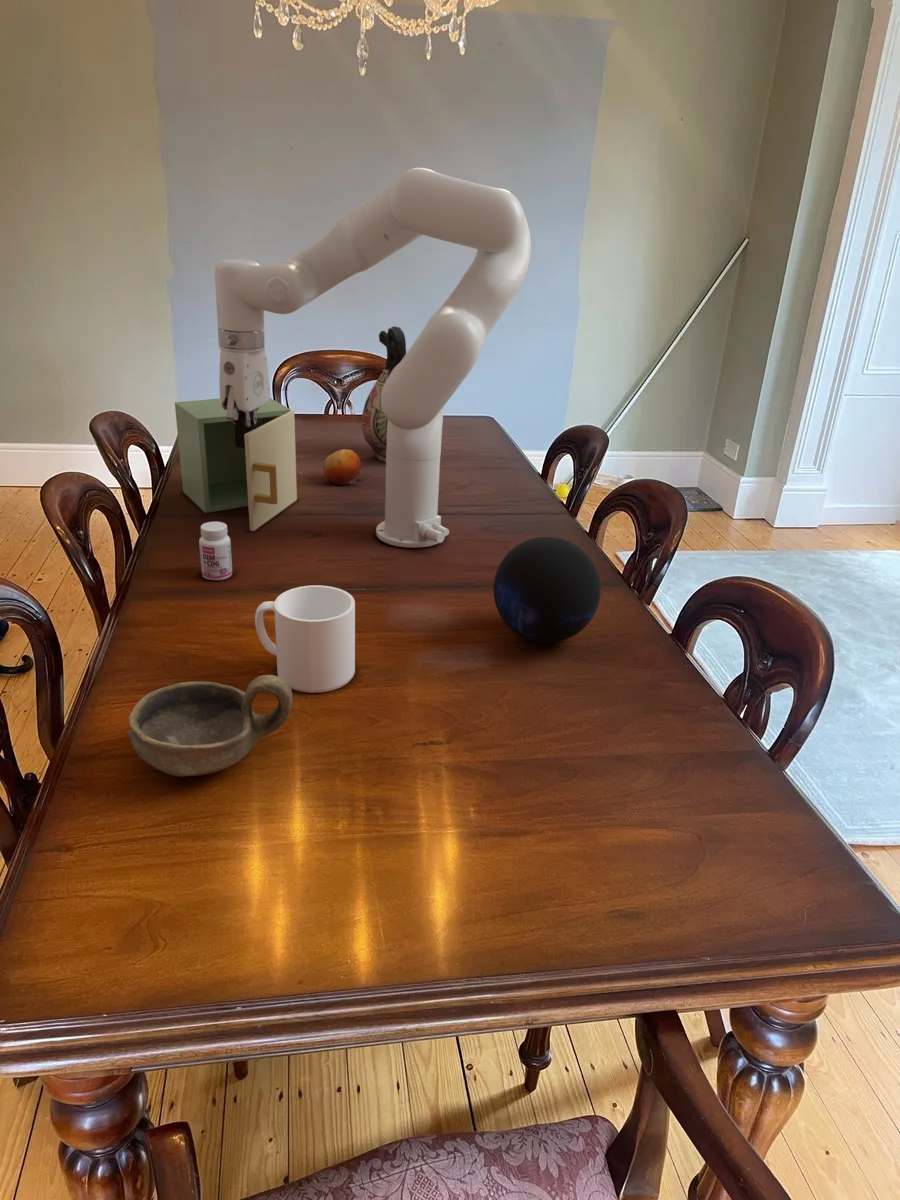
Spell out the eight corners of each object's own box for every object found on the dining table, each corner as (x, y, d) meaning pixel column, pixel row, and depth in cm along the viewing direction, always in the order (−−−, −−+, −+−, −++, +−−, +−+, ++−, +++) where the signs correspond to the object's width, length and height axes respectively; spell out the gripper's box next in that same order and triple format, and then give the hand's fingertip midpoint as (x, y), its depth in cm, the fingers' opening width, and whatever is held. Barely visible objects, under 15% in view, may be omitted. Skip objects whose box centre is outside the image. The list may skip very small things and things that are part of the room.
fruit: (367, 482, 173) (347, 449, 170) (335, 499, 175) (315, 466, 172) (371, 470, 180) (352, 438, 177) (340, 487, 182) (321, 455, 179)
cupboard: (293, 499, 166) (291, 409, 158) (205, 513, 157) (197, 418, 149) (267, 480, 176) (264, 394, 168) (183, 492, 166) (174, 402, 158)
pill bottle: (202, 582, 131) (197, 532, 127) (201, 569, 135) (197, 521, 131) (233, 580, 132) (229, 530, 128) (232, 567, 136) (228, 519, 132)
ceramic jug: (355, 449, 199) (355, 318, 185) (417, 447, 203) (422, 318, 190) (370, 471, 184) (372, 331, 171) (437, 468, 189) (444, 331, 175)
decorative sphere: (614, 640, 121) (629, 545, 114) (548, 674, 112) (560, 573, 105) (535, 602, 131) (545, 513, 124) (468, 631, 121) (475, 536, 114)
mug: (358, 654, 114) (358, 587, 109) (350, 695, 105) (350, 623, 100) (266, 650, 113) (262, 582, 109) (250, 691, 104) (245, 618, 100)
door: (316, 502, 165) (314, 414, 157) (274, 534, 149) (270, 437, 141) (293, 499, 166) (290, 410, 158) (249, 530, 150) (244, 434, 142)
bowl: (147, 720, 98) (137, 647, 93) (298, 719, 99) (296, 647, 95) (116, 798, 85) (103, 718, 81) (289, 795, 87) (286, 716, 83)
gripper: (241, 349, 131) (246, 461, 140) (281, 335, 145) (283, 439, 153) (198, 344, 133) (205, 455, 141) (241, 331, 146) (245, 433, 154)
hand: (246, 446), depth 147 cm, fingers closed
